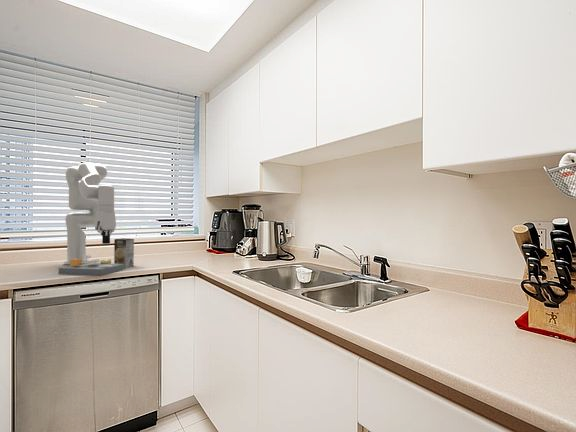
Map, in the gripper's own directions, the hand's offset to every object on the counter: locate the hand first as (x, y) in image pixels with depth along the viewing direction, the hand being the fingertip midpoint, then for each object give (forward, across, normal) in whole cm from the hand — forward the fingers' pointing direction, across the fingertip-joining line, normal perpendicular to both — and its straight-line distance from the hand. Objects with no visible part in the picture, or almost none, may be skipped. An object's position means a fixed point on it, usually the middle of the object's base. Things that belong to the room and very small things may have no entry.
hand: (106, 243), depth 163 cm
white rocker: (+11, 0, -8) cm, 13 cm away
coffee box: (+15, -20, -5) cm, 26 cm away
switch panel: (+15, 0, -8) cm, 17 cm away
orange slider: (+12, +3, -16) cm, 20 cm away
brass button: (+11, 0, 0) cm, 11 cm away
